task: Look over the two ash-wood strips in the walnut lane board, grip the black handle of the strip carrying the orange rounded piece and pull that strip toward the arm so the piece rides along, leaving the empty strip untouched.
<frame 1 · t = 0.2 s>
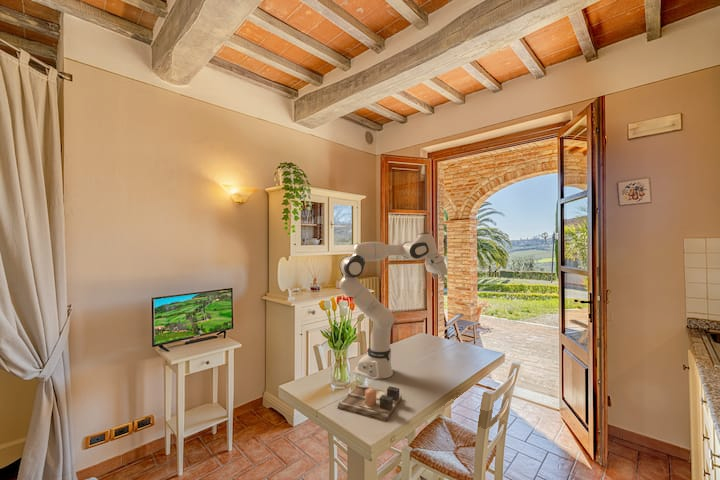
hand: (439, 279, 185), 52 cm above the table, tool tilted 20°, fingers open, 8 cm apart
strip a: (376, 401, 139), point 4 cm above the table, slide at 0.0 cm, touching orange rounded piece
orange rounded piece: (370, 403, 140), point 2 cm above the table, touching strip a
lane board: (370, 403, 145), on the table
strip b: (384, 392, 147), point 4 cm above the table, slide at 0.0 cm
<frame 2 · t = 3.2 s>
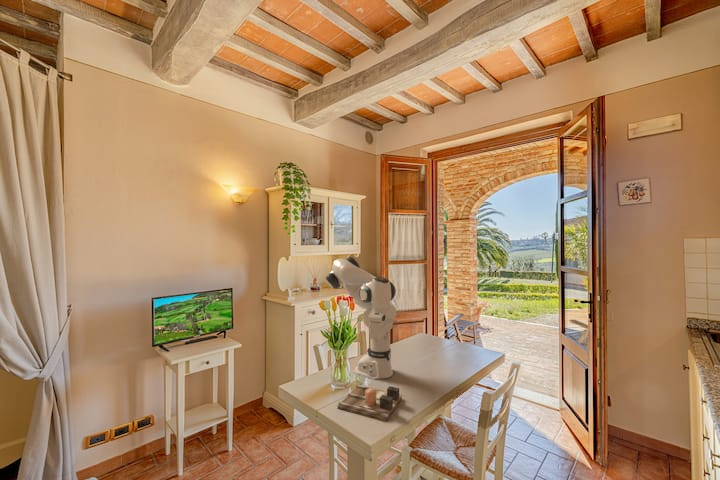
hand: (382, 343, 142), 29 cm above the table, tool pointing down, fingers open, 8 cm apart
nothing on the table moved.
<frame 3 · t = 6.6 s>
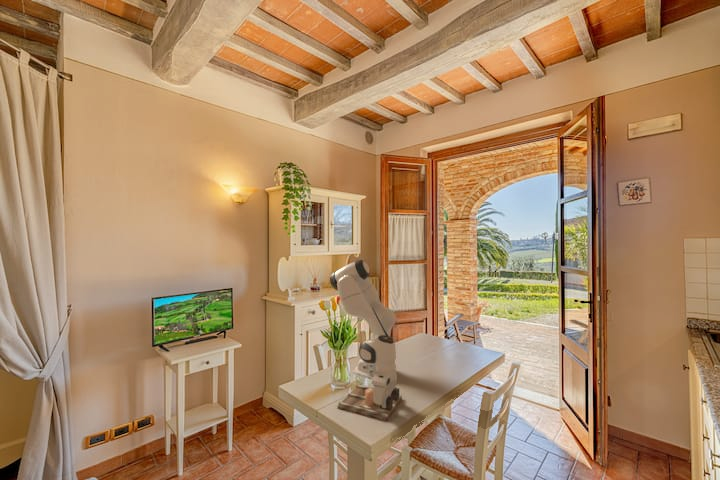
hand: (386, 404, 137), 4 cm above the table, tool pointing down, fingers closed on strip a, 3 cm apart
strip a: (376, 401, 139), point 4 cm above the table, slide at 0.0 cm, touching gripper, orange rounded piece
everything else where it was.
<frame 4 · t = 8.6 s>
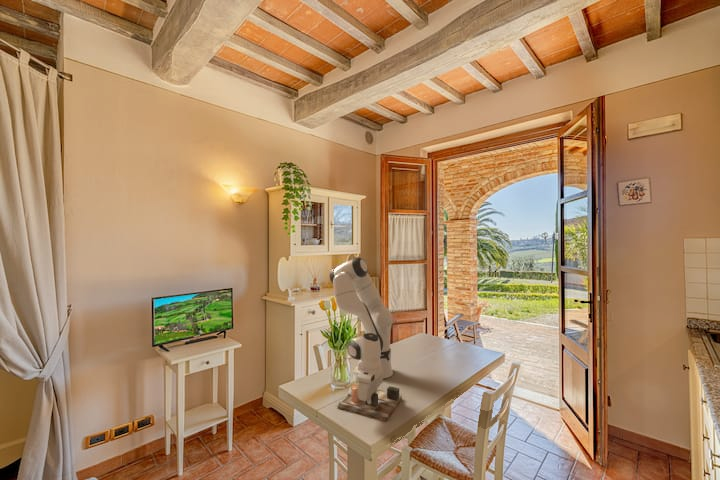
hand: (371, 401, 140), 4 cm above the table, tool pointing down, fingers closed on strip a, 3 cm apart
strip a: (362, 398, 142), point 4 cm above the table, slide at 7.0 cm, touching gripper, orange rounded piece
orange rounded piece: (357, 400, 143), point 2 cm above the table, touching strip a
everything else where it was.
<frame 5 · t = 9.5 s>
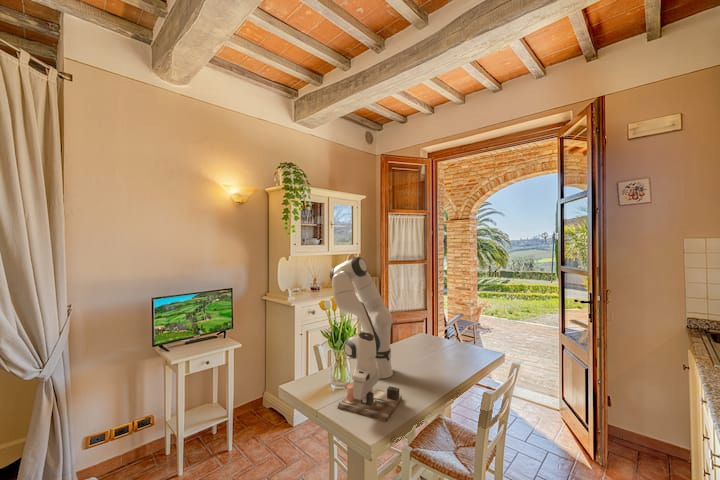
hand: (367, 399, 141), 4 cm above the table, tool pointing down, fingers closed on strip a, 3 cm apart
strip a: (358, 397, 143), point 4 cm above the table, slide at 9.3 cm, touching gripper, orange rounded piece
orange rounded piece: (352, 399, 144), point 2 cm above the table, touching strip a
everything else where it was.
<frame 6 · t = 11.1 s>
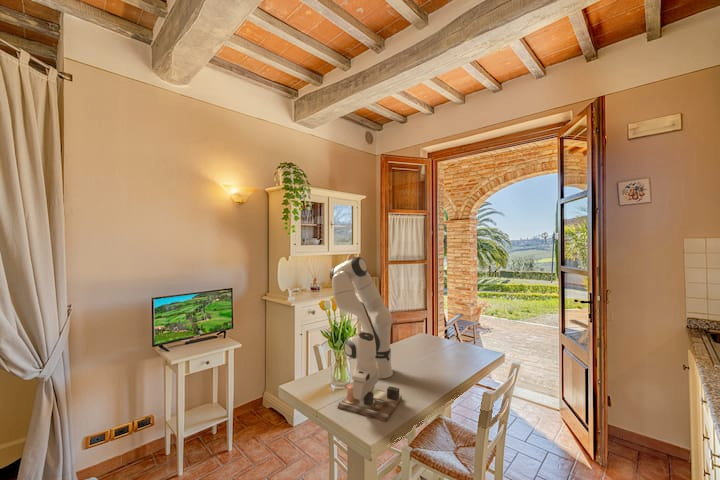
hand: (366, 399, 141), 4 cm above the table, tool pointing down, fingers open, 8 cm apart
strip a: (358, 397, 143), point 4 cm above the table, slide at 9.4 cm, touching orange rounded piece
everything else where it was.
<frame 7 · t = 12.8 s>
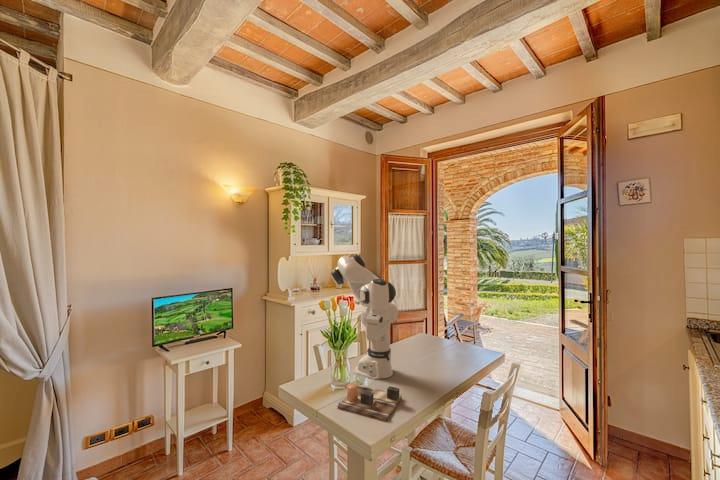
hand: (379, 344, 144), 28 cm above the table, tool pointing down, fingers open, 8 cm apart
nothing on the table moved.
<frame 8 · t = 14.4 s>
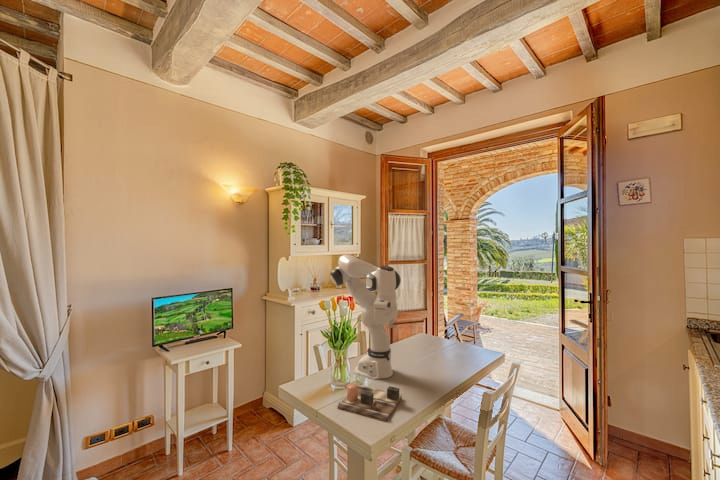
hand: (386, 330, 145), 34 cm above the table, tool pointing down, fingers open, 8 cm apart
nothing on the table moved.
at the end: strip a slide at 9.4 cm; orange rounded piece 0.1 cm from the target spot, point 2.2 cm above the table; strip b slide at 0.0 cm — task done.
